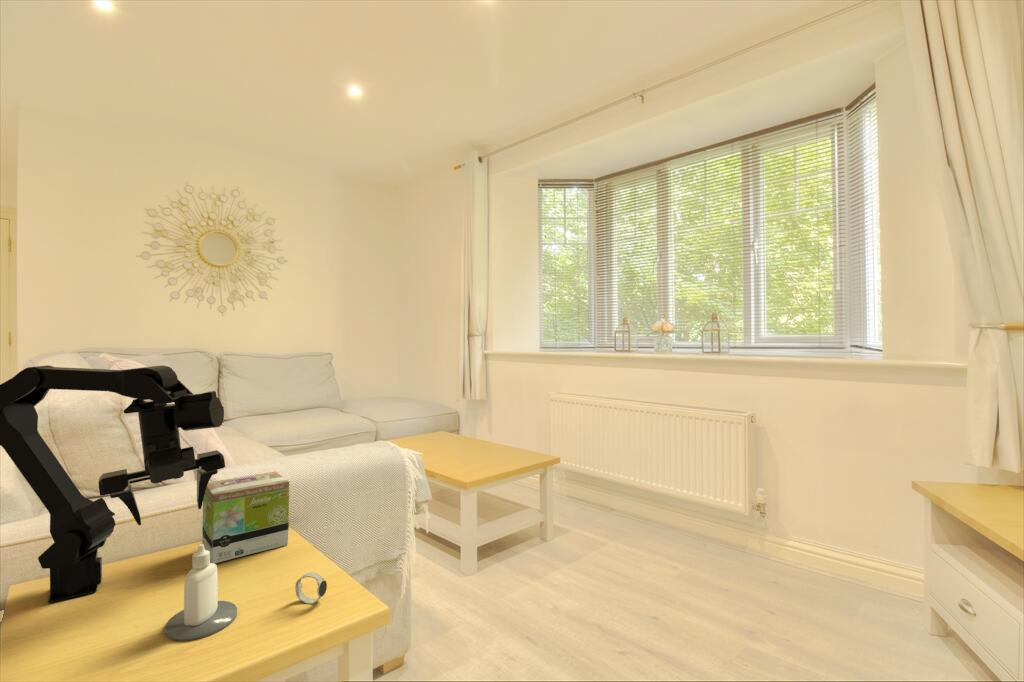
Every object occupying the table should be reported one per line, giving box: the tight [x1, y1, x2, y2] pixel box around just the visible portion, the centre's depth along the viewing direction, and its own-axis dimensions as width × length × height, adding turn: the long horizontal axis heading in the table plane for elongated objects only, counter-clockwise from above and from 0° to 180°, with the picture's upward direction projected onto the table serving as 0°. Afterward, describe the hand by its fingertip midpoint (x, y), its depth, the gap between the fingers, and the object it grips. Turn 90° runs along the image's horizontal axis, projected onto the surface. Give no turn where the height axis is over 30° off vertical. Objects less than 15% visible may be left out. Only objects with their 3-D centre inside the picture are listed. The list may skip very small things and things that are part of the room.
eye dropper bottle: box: [183, 543, 219, 626], centre depth 80 cm, size 4×6×12 cm
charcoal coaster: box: [164, 600, 238, 642], centre depth 80 cm, size 10×10×1 cm
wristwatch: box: [294, 571, 328, 605], centre depth 87 cm, size 3×5×5 cm, turn 81°
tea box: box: [201, 470, 290, 565], centre depth 107 cm, size 15×10×15 cm, turn 132°
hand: (170, 516), depth 91 cm, fingers open, 9 cm apart
